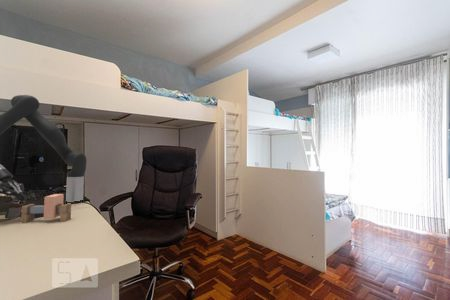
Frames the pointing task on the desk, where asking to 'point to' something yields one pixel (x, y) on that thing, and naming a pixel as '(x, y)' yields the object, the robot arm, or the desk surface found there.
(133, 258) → the desk surface
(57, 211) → the grey metal bar
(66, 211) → the stand
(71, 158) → the robot arm
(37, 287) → the desk surface
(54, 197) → the collar
